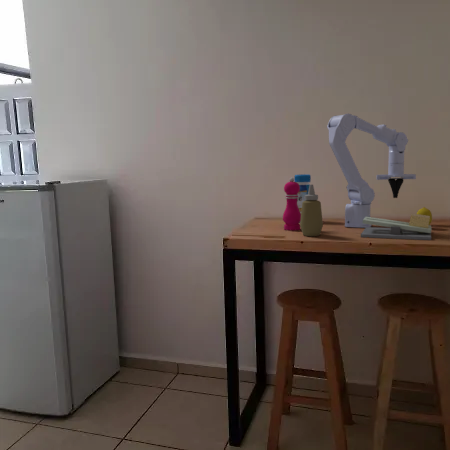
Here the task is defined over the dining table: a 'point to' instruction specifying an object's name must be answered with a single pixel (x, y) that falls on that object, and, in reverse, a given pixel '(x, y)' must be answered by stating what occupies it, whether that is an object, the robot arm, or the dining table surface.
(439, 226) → the dining table surface
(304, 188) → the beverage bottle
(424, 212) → the lemon
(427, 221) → the tan block
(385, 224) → the beam
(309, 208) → the squeeze bottle
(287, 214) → the pepper mill
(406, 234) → the pivot stand
